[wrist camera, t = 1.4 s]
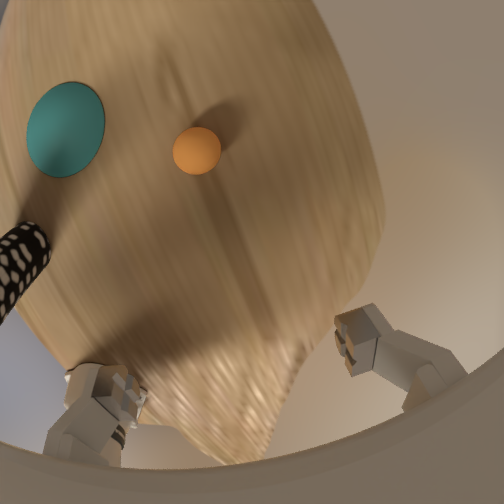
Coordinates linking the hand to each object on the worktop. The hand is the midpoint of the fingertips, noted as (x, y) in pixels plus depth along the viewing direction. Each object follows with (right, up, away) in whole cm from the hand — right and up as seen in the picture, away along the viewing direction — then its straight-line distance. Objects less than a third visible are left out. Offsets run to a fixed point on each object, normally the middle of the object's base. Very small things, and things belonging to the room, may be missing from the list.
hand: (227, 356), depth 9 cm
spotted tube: (-33, +5, +23) cm, 41 cm away
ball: (-5, +15, +20) cm, 25 cm away
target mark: (-24, +20, +17) cm, 35 cm away
